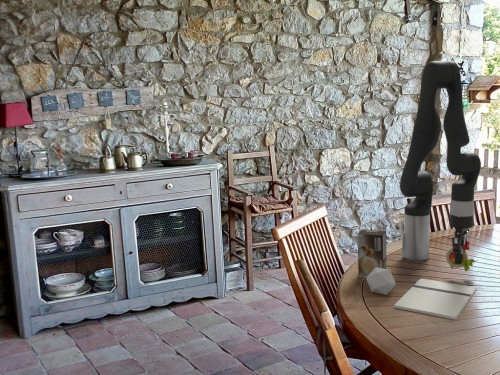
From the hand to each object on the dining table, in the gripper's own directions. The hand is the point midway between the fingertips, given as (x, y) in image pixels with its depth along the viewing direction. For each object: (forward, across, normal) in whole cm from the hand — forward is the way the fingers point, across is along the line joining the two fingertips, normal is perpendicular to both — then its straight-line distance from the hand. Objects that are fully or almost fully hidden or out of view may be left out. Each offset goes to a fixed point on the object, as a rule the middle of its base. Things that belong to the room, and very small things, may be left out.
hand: (459, 261), depth 188 cm
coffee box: (+6, +11, -27) cm, 30 cm away
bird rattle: (+3, 0, 0) cm, 3 cm away
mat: (+6, +21, -2) cm, 22 cm away
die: (+6, +24, -19) cm, 31 cm away
